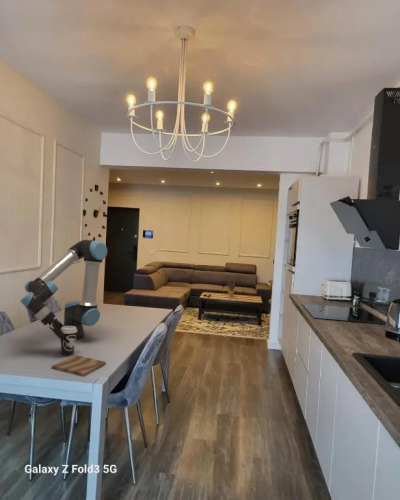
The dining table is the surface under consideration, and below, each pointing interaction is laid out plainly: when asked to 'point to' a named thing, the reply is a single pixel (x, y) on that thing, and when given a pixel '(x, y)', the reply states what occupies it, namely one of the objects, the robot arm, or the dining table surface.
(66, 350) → the coffee cup
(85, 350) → the dining table surface
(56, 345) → the dining table surface
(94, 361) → the wooden board
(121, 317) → the dining table surface
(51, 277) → the robot arm
